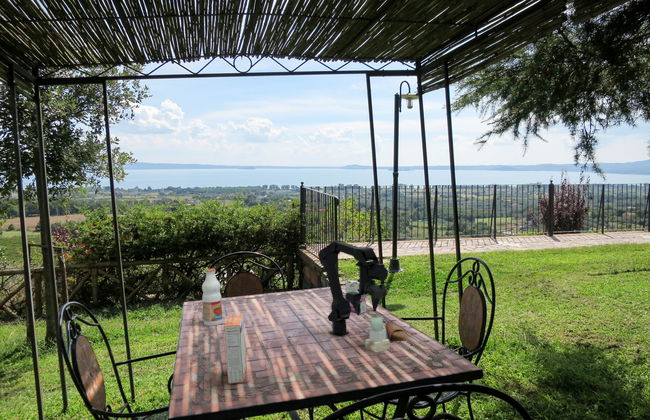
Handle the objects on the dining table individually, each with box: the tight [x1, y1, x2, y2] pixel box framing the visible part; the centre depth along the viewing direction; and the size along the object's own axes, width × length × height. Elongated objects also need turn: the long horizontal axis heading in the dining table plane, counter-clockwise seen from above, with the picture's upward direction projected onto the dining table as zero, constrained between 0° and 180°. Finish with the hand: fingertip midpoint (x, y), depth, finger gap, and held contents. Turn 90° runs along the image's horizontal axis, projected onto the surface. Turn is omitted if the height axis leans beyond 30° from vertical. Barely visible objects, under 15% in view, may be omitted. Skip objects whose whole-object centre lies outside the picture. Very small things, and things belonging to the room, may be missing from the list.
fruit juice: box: [201, 267, 223, 327], centre depth 244 cm, size 9×9×28 cm
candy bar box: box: [344, 279, 367, 315], centre depth 255 cm, size 11×5×16 cm, turn 41°
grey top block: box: [369, 328, 387, 342], centre depth 197 cm, size 5×5×4 cm
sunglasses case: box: [385, 322, 410, 342], centre depth 214 cm, size 18×7×7 cm
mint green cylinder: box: [370, 315, 384, 332], centre depth 197 cm, size 5×5×5 cm
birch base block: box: [364, 337, 391, 353], centre depth 197 cm, size 7×7×4 cm
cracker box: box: [223, 314, 248, 385], centre depth 174 cm, size 14×6×21 cm, turn 5°
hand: (366, 313), depth 205 cm, fingers open, 9 cm apart
